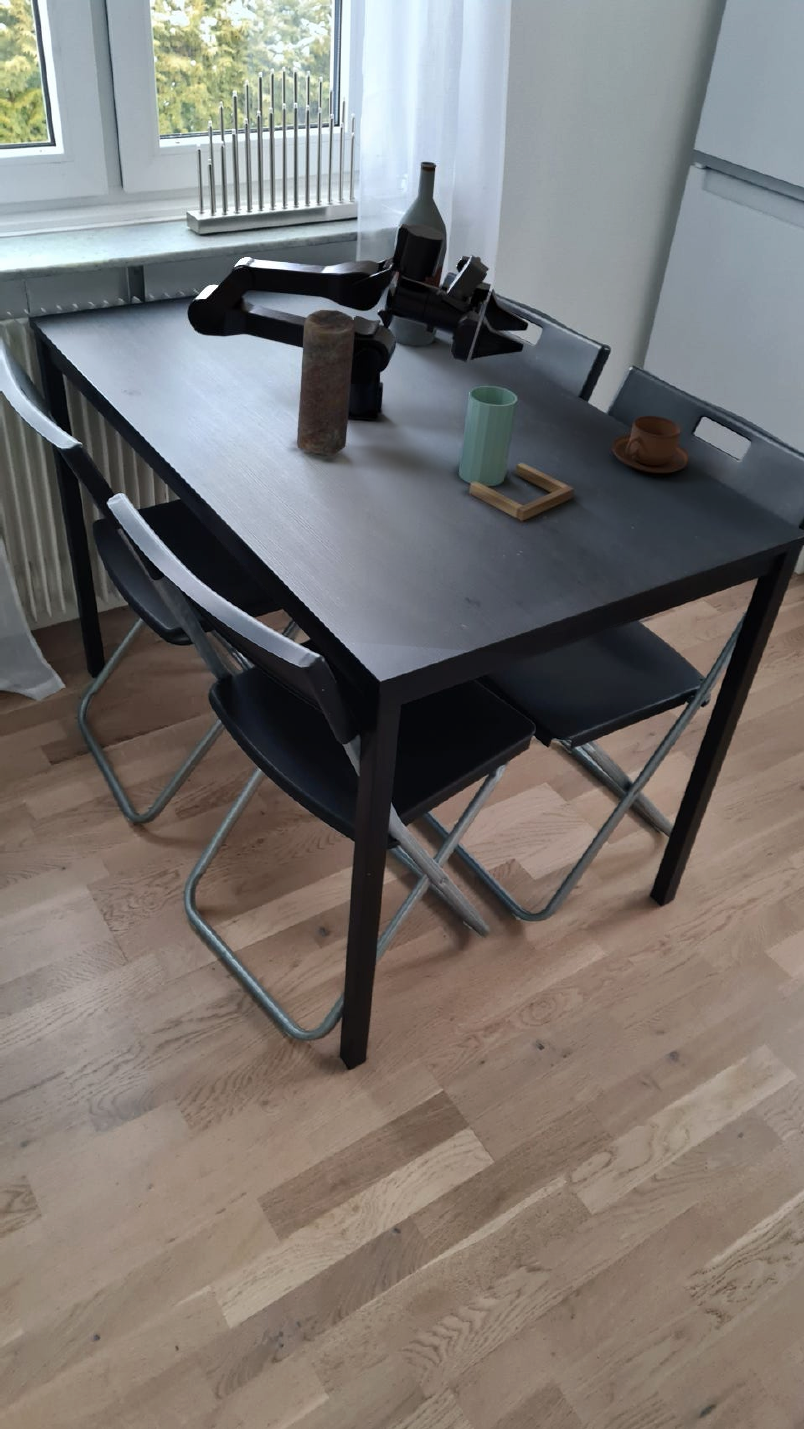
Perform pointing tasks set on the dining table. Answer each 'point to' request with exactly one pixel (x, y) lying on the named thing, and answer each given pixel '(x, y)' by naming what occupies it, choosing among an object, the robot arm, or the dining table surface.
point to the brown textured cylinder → (325, 382)
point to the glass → (487, 435)
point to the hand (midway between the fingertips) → (525, 337)
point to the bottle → (429, 215)
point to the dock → (522, 512)
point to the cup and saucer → (652, 446)
